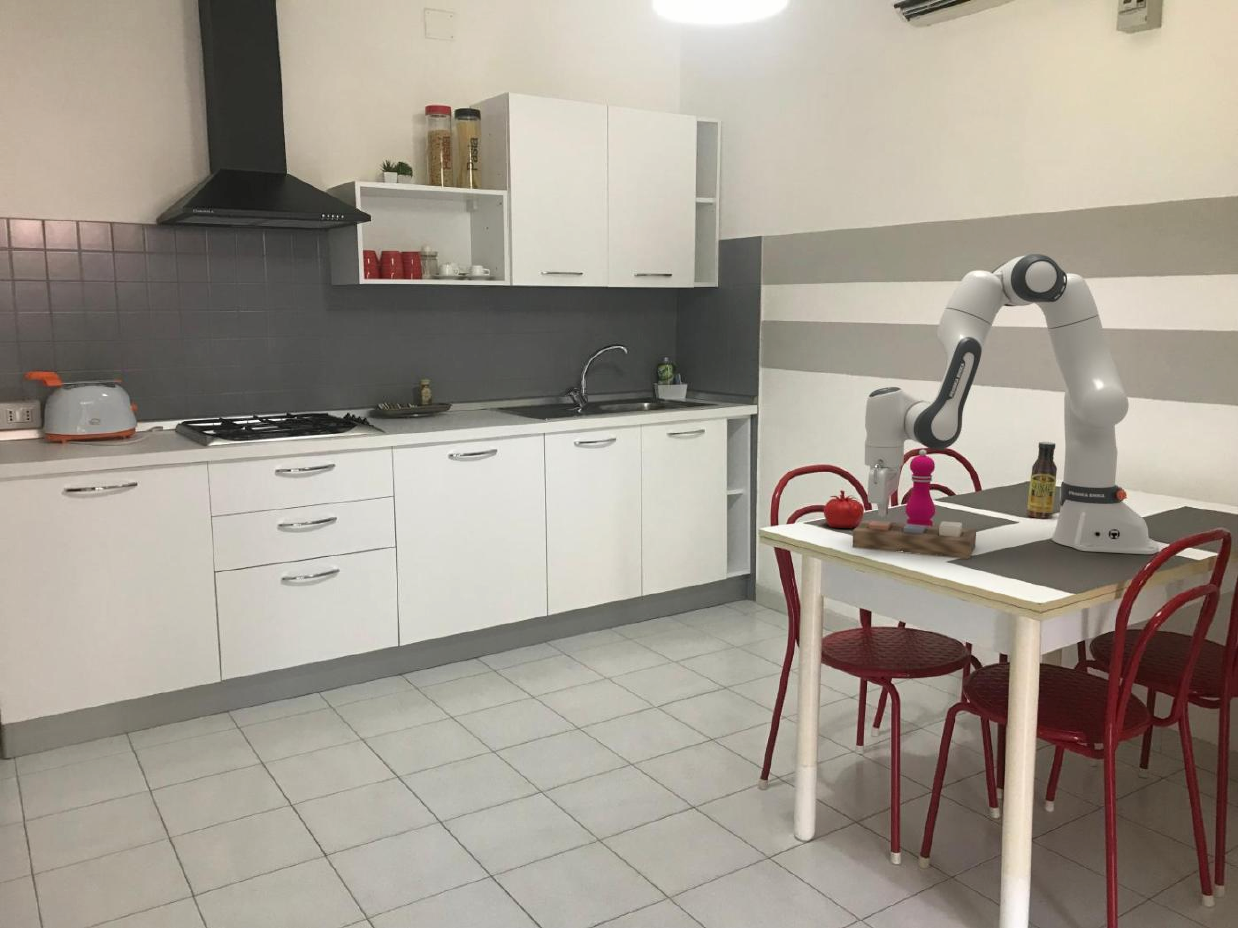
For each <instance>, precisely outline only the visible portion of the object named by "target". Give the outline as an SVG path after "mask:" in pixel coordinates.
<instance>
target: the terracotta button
mask: <svg viewBox="0 0 1238 928" xmlns="http://www.w3.org/2000/svg"><path fill="white" fill-rule="evenodd" d="M871 521H872V522H871V523H870V524H869V529H879V530H890V529H891V523H892V522H891V521H878V520H871Z"/></svg>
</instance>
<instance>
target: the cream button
mask: <svg viewBox="0 0 1238 928" xmlns="http://www.w3.org/2000/svg"><path fill="white" fill-rule="evenodd" d="M939 527H940V528H939V535H943V536H953V537H961V536H962V529H963V522H955V521H944V520H942V521H941V522H940V524H939Z"/></svg>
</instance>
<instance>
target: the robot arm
mask: <svg viewBox="0 0 1238 928" xmlns="http://www.w3.org/2000/svg"><path fill="white" fill-rule="evenodd" d="M1032 304H1036V305H1037V306H1038V307H1039V308H1040V310H1041V312H1042V313H1043V315H1044V319H1045V323H1046V326H1047V327H1046V328H1047V330H1048V334H1049V337H1050V342H1051V344H1052V348H1053V353H1054V355H1055V360H1056V362H1057V365H1058V366H1059V369H1060V372H1061V374H1062V377H1063V379H1064V382H1065V384H1066V387H1067V388H1066V390H1065V393H1064V398H1063V399H1064V400H1063V402H1064V410H1063V411H1064V412H1063V414H1064V415H1063V417H1064V423H1063V424H1064V440H1065V441H1064V442H1065V444H1064V445H1065V448H1064V449H1065V453H1064V467H1063V468H1064V469H1063V480H1062V481H1061V483H1060V488H1059V505H1060V508H1059V515H1058V518H1057V522H1056V527H1055V530H1054V532H1053V535H1052V537H1051V540H1052V541H1053V542H1054V543H1057V544H1059V545H1063V546H1067V547H1070V548H1073V549H1076V550H1078V551H1083V552H1095V553H1096V552H1099V553H1115V554H1117V553H1118V554H1119V553H1120V554H1132V555H1133V554H1136V555H1137V554H1138V555H1154V554H1156V553H1158V551H1159V544H1158V542H1157V541H1155V540H1154V539H1152V538H1149V528H1148V526H1147V523H1146V521H1145V519H1144V518H1143V516H1141V515H1140V514H1139V513H1137V512H1136V511H1135V510H1133V509H1132V508H1131V507H1130V506H1129V505H1128V504H1126V503H1125V502H1124V500H1125V499H1126V498H1127V492H1126V490H1124V489H1123V487H1120V486H1118V485H1117V484H1116V476H1117V464H1118V463H1117V462H1118V447H1117V441H1116V440H1117V438H1116V427H1115V426H1116V425H1118V424H1119V423H1121V422H1122V421H1123V420H1124V419H1125V418H1126V416H1127V414H1128V411H1129V399H1128V397H1127V396H1128V395H1127V394H1126V391H1125V389H1124V385H1123V383H1122V379H1121V378H1120V375H1119V371H1118V368H1117V366H1116V364H1115V362H1114V359H1113V357H1112V355H1111V352H1110V350H1109V346H1108V343H1107V339H1106V335H1105V332H1104V329H1103V325H1102V322H1101V319H1100V314H1099V311H1098V307H1097V304H1096V302H1095V299H1094V296H1093V294H1092V292H1091V289H1090V287H1089V285H1088V283H1087V281H1086V279H1084V277H1083V276H1082V275H1079V274H1077V273H1068V272H1067V273H1066V272H1065V271H1064V270H1063V269H1062V268H1061V267H1060V265H1059V264H1058V263H1057V262H1056V261H1055V260H1054V259H1053V258H1051V257H1050V256H1048V255H1044V254H1041V253H1032V254H1028V255H1020V256H1017V257H1015V258H1013V259H1010V260H1009V261H1006V262H1004V263H1002V264H1000V265H999V266H997V267H996V268H995V269H994V270H992V271H988V270H972V271H969V272H968V273H967V274H965V275H964V277H963V278H962V279H961V280H960V281H959V284H958V285H957V286H956V288H955V290H954V291H953V292H952V295H951V297H950V299H949V301H948V302H947V305H946V307H945V309H944V311H943V313H942V314H941V317H940V320H939V324H938V328H937V332H936V338H937V341H938V344H939V345H940V347H941V348H942V350H943V351H944V353H945V355H946V359H947V363H946V364H947V365H946V370H945V371H944V375H943V377H942V380H941V382H940V385H939V388H938V391H937V394H936V396H935V398H934V399H933V401H927V400H923V399H921V398H918V397H915V396H913V395H911V394H909V393H907V392H906V391H904V390H903V389H902V388H900V387H897V386H890V387H888V386H887V387H881V388H878V389H875V390H874V391H872V392H871V393H869V395H868V396H867V400H866V406H865V407H866V408H865V418H864V419H865V420H864V422H865V423H864V424H865V425H864V427H865V430H866V438H865V441H864V465H865V466H868V467H869V473H868V479H867V482H868V483H867V502H868V503H869V504H876V505H877V512H878V514H877V515H878V517H882V518H883V517H884V518H885V517H886V516H887V515H888V513H889V505H890V499H891V496H892V495H893V494H894V493H895V492H896V491H897V490H898V488H899V484H900V477H901V469H902V466H904V461H905V459H904V458H905V456H904V455H905V441H908V440H910V441H913V442H915V443H918V444H921V445H922V446H924V447H925V448H928V449H930V450H934V451H941V450H945V449H948V448H950V447H951V446H952V445H953V444H955V443H956V442H957V440H958V439H959V437H960V435H961V433H962V432H961V431H962V427H963V414H964V408H965V405H966V402H967V399H968V396H969V394H970V391H971V388H972V385H973V382H974V379H975V376H976V373H977V371H978V369H979V365H980V361H981V358H982V353H983V347H984V345H985V343H986V340H987V337H988V335H989V332H990V331H991V329H992V326H993V323H994V322H995V319H996V316H997V314H998V313H999V311H1001V309H1002V307H1022V306H1023V307H1024V306H1030V305H1032Z"/></svg>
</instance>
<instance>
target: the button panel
mask: <svg viewBox="0 0 1238 928" xmlns="http://www.w3.org/2000/svg"><path fill="white" fill-rule="evenodd" d="M862 520H863V521H861V522H860V523H859V524H858V525H857V526H855V527H854V529H852V548H856V547H859V548H858V549H868V550H878V551H885V552H886V551H887V552H896V551H903V552H902V553H905V552H911V553H910V554H915V553H920V554H919V555H925V554H926V555H928V556H937V557H944V558H945V557H946V558H955V559H964V560H965V559H968V560H970V558H971V557H972V555H973V552H974V551H975V549H976V543H977V542H976V541H977V529H965V528H962V536H961V537H953V536H943V535H939V528H940V526H934V525H933V526H926V532H925V534H921V533H911V532H903V528H904V527H905V525H906V524H907V523H900V522H891V529H890V530H879V529H869V524H870V523H871V522H872V521H873V520H866V519H862Z"/></svg>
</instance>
